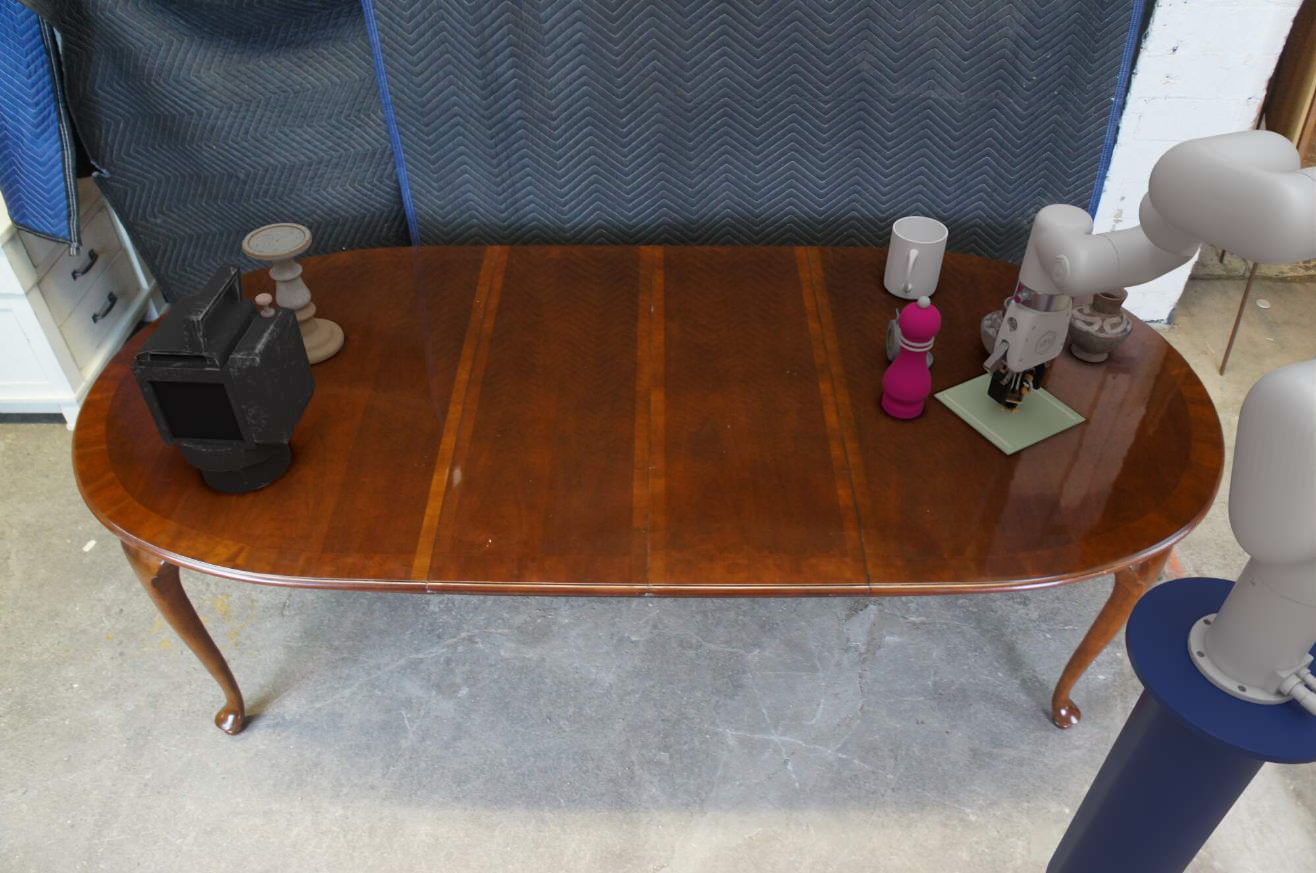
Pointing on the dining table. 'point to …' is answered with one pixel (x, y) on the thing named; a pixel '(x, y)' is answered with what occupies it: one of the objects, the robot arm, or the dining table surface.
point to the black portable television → (227, 382)
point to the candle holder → (294, 284)
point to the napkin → (1009, 414)
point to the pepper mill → (911, 361)
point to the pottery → (1080, 326)
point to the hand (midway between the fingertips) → (1013, 391)
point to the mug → (915, 257)
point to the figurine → (1018, 394)
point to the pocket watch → (894, 344)
